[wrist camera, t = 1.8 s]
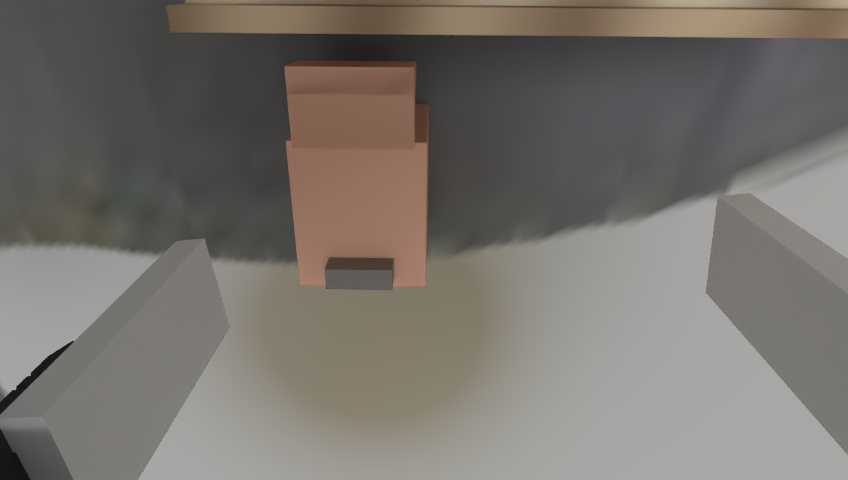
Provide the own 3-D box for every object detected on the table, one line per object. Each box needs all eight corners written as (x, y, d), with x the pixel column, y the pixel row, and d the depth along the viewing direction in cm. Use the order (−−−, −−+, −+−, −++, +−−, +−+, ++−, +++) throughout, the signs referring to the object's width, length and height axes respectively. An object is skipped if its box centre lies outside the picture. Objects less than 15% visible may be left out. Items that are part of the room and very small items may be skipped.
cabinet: (328, 219, 34) (294, 297, 26) (316, 42, 30) (269, 66, 21) (427, 220, 34) (425, 300, 26) (429, 43, 30) (427, 68, 21)
